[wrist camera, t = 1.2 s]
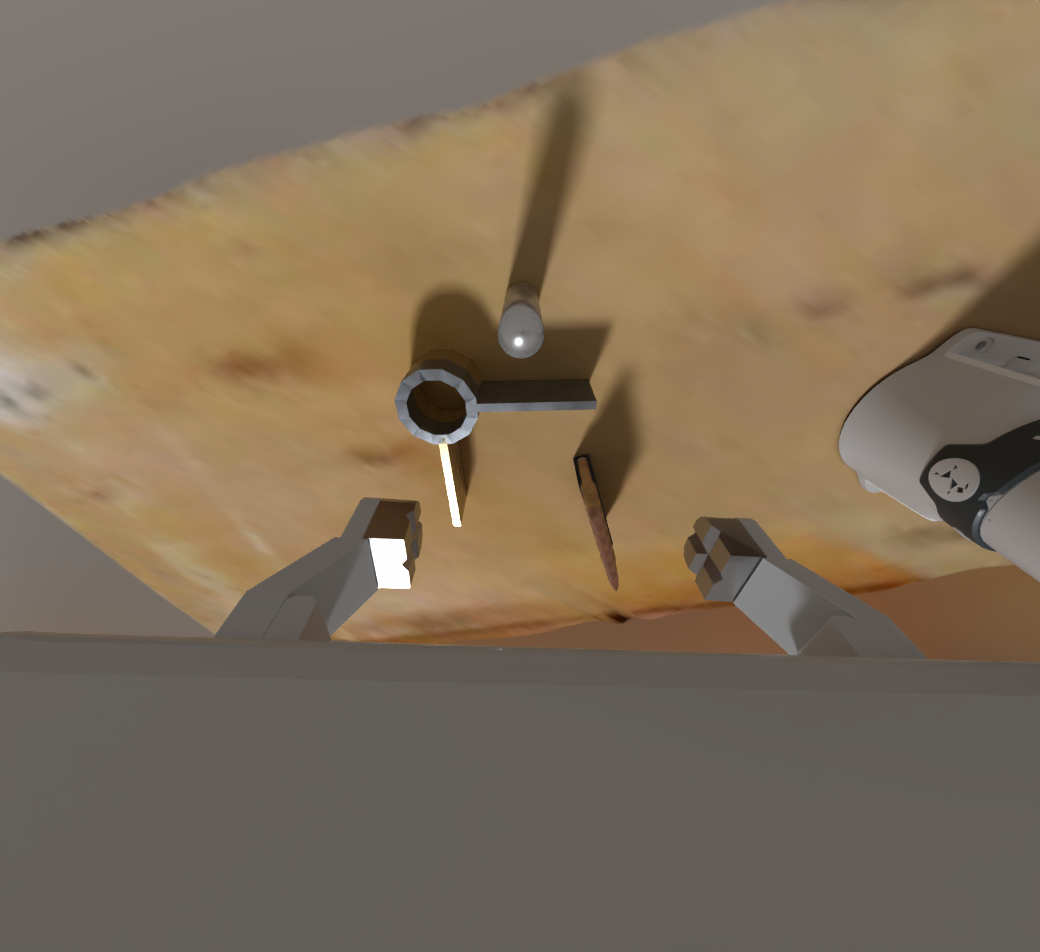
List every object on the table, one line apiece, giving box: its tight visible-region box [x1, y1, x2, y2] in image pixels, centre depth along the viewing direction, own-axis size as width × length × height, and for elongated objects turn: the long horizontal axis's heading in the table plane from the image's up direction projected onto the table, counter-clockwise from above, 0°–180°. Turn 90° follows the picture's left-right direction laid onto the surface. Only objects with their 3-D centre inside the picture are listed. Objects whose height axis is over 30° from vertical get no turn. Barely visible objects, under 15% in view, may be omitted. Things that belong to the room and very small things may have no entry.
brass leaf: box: [410, 350, 482, 526], centre depth 39 cm, size 7×18×6 cm, turn 2°
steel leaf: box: [395, 359, 597, 444], centre depth 36 cm, size 18×7×6 cm, turn 92°
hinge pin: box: [498, 282, 544, 358], centre depth 29 cm, size 3×3×12 cm
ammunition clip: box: [573, 454, 618, 591], centre depth 41 cm, size 11×2×12 cm, turn 19°
